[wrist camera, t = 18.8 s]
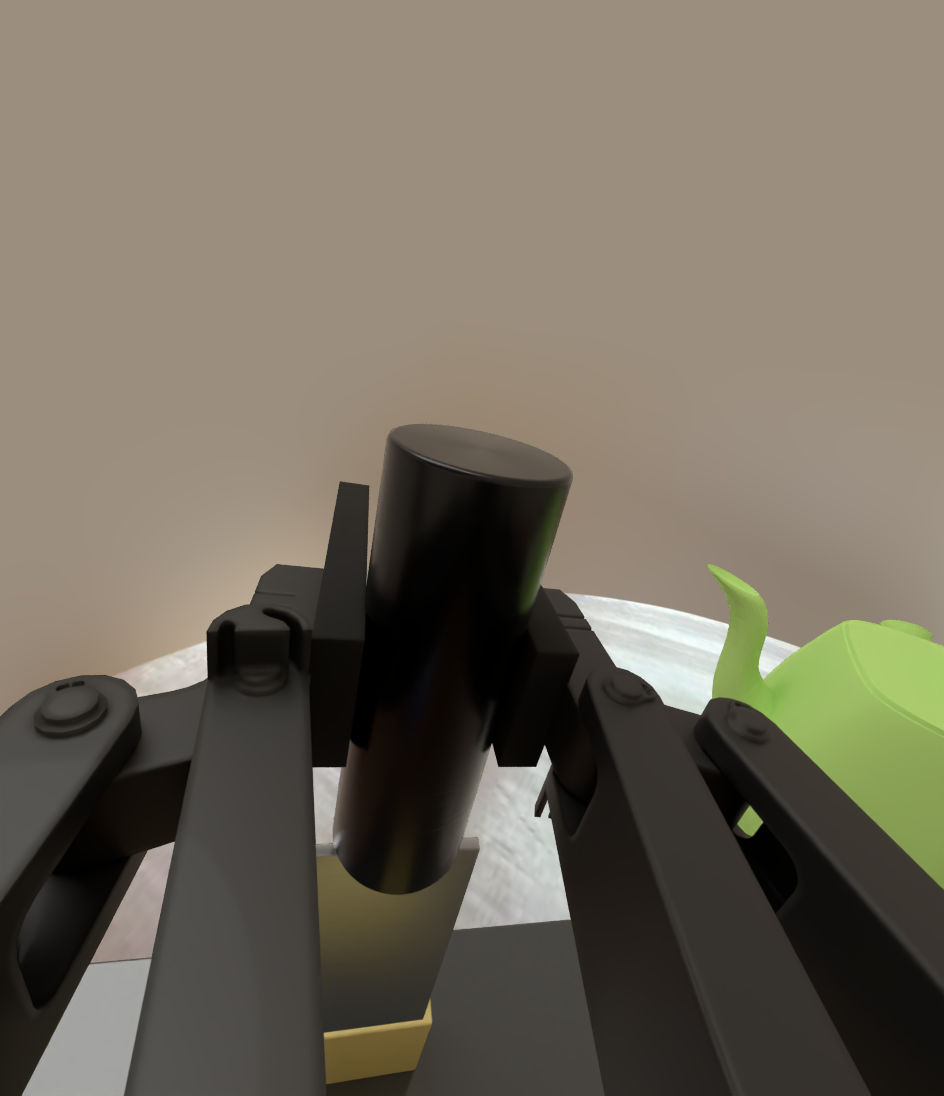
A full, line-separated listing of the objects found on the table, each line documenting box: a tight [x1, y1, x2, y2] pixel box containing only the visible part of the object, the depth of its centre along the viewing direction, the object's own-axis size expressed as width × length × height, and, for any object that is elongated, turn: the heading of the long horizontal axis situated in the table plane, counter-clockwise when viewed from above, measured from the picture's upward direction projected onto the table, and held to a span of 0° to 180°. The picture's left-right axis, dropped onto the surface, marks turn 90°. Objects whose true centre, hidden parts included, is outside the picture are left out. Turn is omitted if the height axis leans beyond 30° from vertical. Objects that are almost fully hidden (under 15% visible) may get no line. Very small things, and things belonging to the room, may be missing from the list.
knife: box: [316, 424, 573, 1033], centre depth 11 cm, size 4×3×17 cm
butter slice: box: [324, 999, 432, 1084], centre depth 16 cm, size 5×2×4 cm, turn 100°
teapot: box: [708, 564, 944, 889], centre depth 29 cm, size 25×22×16 cm
